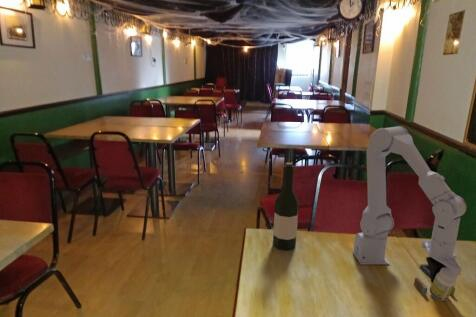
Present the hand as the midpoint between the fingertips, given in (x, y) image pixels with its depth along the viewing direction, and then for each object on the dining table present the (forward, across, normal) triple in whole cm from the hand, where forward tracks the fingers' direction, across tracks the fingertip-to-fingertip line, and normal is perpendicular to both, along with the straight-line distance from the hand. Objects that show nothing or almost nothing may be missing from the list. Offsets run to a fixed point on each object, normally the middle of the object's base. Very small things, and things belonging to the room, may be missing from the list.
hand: (435, 282), depth 96 cm
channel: (+3, 0, 0) cm, 3 cm away
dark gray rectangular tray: (+3, +9, -6) cm, 11 cm away
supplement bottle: (+2, -2, 0) cm, 3 cm away
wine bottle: (+3, +26, +38) cm, 47 cm away
